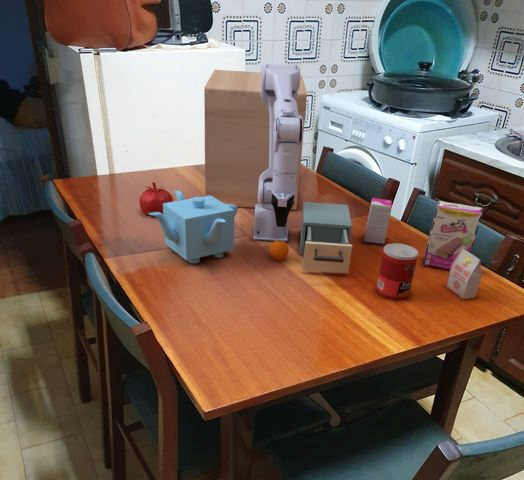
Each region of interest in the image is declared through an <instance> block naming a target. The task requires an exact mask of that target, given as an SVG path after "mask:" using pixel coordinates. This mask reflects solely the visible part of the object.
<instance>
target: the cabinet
mask: <svg viewBox="0 0 524 480" xmlns="http://www.w3.org/2000/svg"><path fill="white" fill-rule="evenodd" d="M301 213H302V214H301V223H300V224H301V225H300V237H299V240H300V241H299V254H300V255H303V256H304V250H305V241H306V235H307V225H310V226H324V227H337V228H346V231H347V237H348V243H349V244H350V243H351V236H352V235H351V234H352V229H353V228H352V227H353V223H352V219H351V213H350V209H349V204H340V203H338V204H337V203H326V202H312V201H303V202H302V211H301Z"/></svg>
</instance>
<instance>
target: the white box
mask: <svg viewBox="0 0 524 480" xmlns="http://www.w3.org/2000/svg"><path fill="white" fill-rule="evenodd" d="M481 263H482V260H481V258H479V257H477V256H476V255H474V254H473V253H472V252H471V253H469V252H468V251H466V250H465V249H462V248H461V250H460V252H459V254H458V256H457V257H456V259H455V260H454V262H453V263H452V265H451V268H450V270H449V273H448V276H447V279H446V283H445V287H446V288H447V289H448V290H449V291H451V292H452V293H453V294H455V295H456V296H457V297H459V299H461V300H467V299H473V298H474V299H475V298H476V295H477V292H478V290H479V286H480V284H481V281H482V277H483V273H482V264H481Z"/></svg>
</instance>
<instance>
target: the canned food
mask: <svg viewBox="0 0 524 480" xmlns="http://www.w3.org/2000/svg"><path fill="white" fill-rule="evenodd" d="M418 257H419V251H418V250H417V248H415V247H413V246H411V245H408V244H405V243H392V242H391V243H387V244H386V245H384V246H383V250H382V254H381V260H380V266H379V269H378V270H379V271H378V275H377V281H376V291H377V293H378V294H379V295H380V296H382V297H384V298H387V299H390V300H404V299H406V298H407V297H408V296H409V294H410V292H411V287H412V283H413V278H414V274H415V270H416V266H417V261H418Z"/></svg>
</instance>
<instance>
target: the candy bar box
mask: <svg viewBox="0 0 524 480" xmlns="http://www.w3.org/2000/svg"><path fill="white" fill-rule="evenodd" d="M483 210H484V209H483V207H479V206H475V205H474V206H473V205H466V204H461V203H455V202H449V201H443V200H438V201H437V205H436V208H435V212H434V216H433V219H432V223H431V227H430V231H429V236H428V238H427V244H426V247H425V250H424V255H423V259H422V266H424V267H425V266H426V267H429V268H430V267H431V268H436V269H440V270H441V269H442V270H445V271H450V268H451V265H452V263H453V262H454V260H455V259H456V257H457V256H458V254H459V252H460V250H461V248H462V249H465V250H466V251H468V252H469V253H471V254H472V249H473V246H474V243H475V240H476V236H477V233H478V230H479V227H480V224H481V220H482V216H483V212H484V211H483Z"/></svg>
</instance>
